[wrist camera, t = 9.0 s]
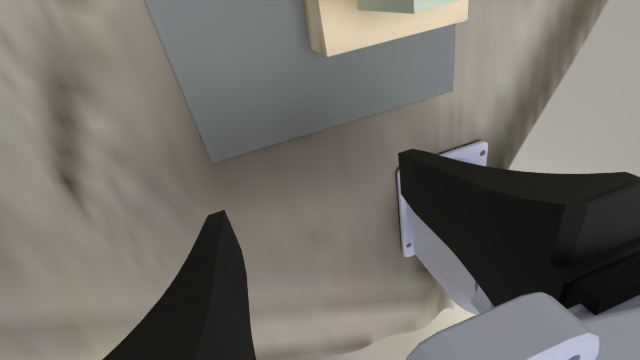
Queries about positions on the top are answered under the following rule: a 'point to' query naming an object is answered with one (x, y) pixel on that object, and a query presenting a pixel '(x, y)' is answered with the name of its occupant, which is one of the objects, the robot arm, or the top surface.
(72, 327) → the top surface
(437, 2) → the sage block
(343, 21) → the oak base
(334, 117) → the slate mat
